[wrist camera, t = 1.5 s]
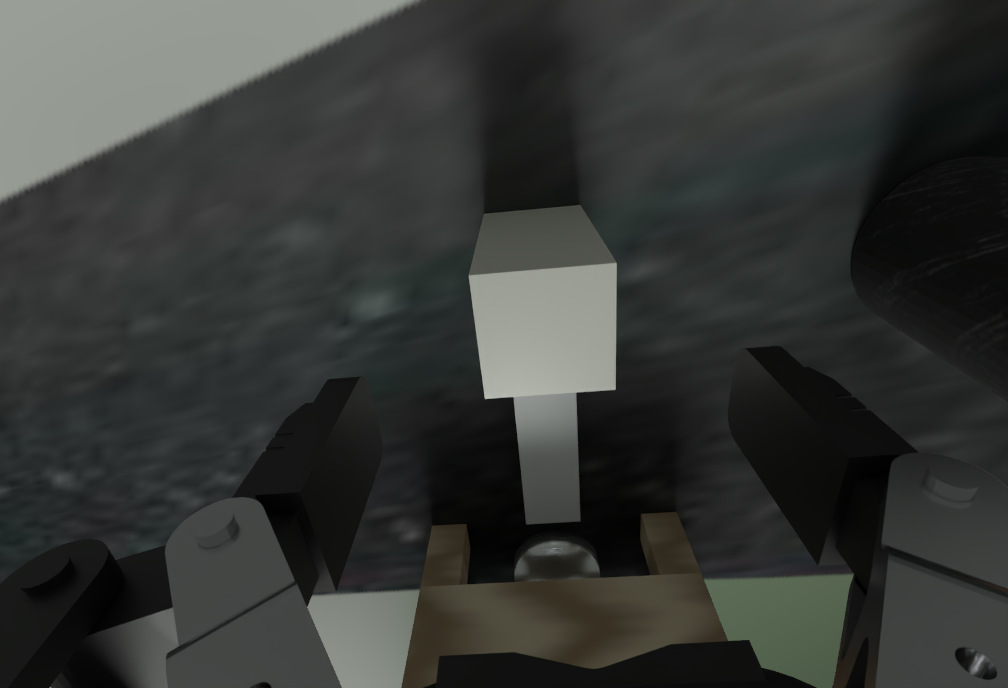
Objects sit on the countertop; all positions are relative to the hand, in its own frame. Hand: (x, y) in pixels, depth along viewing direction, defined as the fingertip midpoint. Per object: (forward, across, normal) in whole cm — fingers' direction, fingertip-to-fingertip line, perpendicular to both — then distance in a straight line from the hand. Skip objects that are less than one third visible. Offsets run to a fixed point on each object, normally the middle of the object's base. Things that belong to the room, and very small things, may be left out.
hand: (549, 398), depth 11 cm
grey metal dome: (+12, 0, +19) cm, 23 cm away
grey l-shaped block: (+12, 0, +7) cm, 13 cm away
